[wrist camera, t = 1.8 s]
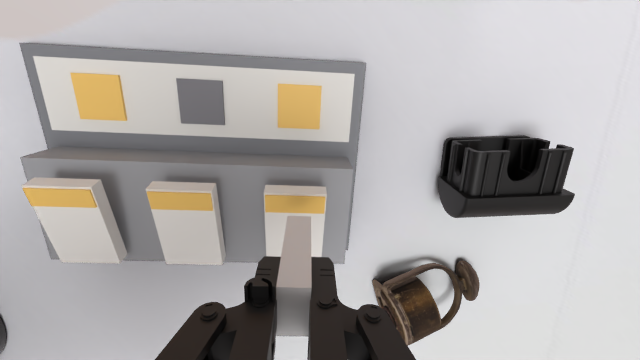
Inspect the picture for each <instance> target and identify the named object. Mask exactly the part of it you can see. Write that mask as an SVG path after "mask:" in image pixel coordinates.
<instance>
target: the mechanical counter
mask: <svg viewBox="0 0 640 360" xmlns="http://www.w3.org/2000/svg"><path fill="white" fill-rule="evenodd" d="M430 269H442V270H444V271H446V272H447V273H448V274H449V276H450V277H451V279H452V282H453V288H454V300H453V304H452V306H451V308H450V310H449V311H448V313H447V314H446V315H445V316H444V317H443V318H442V319H441V318H440V314H439V311H438V308H437V305H436V303H435V301H434V299H433V297H432V295H431V293H430V292H429V290H428V289H427V287H426V286H425V285H424V284H423V283H422V282H421V281H420V280H419V279H418V278H417V277H415V276H416V275H418V274H421V273H423V272H425V271H428V270H430ZM456 275H457V276H456ZM456 275H455V274H454V273H453V271H452V270H450V269H449V268H447V267H445V266H443V265H440V264H436V263H430V264H425V265H421V266H419V267H417V268H415V269H413V270H411V271H409V272H406V273H404V274H401V275H399V276H397V277H394V278H392V279H390V280H388V281H386V282H384V283H383V285H382V284H381V283H379V282H378V281H377V280H373V281H372V283H373V287H374V290H375V294H376V298H377V301H378V304H379V307H381V308H382V309H384V311H385V312H386V313H387V314H388V316H389V317H390V319H391V321H392V322H393V324H394V325H395V327H396V329H397V330H398V332H399V333H400V335H401V337H402V338H403V340H404V341H405V343H406V345H407V346H408V345H410V344H412V343H414V342H417V341H418V340H420V339H422V338H424V337H426V336H428V335H430V334H432V333H433V332H436V331H438V330H440V329H442V328H443V327H445V326H446V325H447V324H448V323H449V322H450V321H451V320H452V319H453V318H454V316H455V315H456V313H457V312H458V310H459V307H460V304H461V299H462V293H463V295H464V297H465V298H466V300H469V301H472V300H475V299H476V297H477V296H478V291H479V279H478V276H477V274H476V271H475V270H474V269H473V268H472V266H471V265H470V264H469V263H468V262H466V261H463V260H461V261H459V262H458V263H457V265H456Z"/></svg>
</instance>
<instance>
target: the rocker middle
mask: <svg viewBox="0 0 640 360" xmlns="http://www.w3.org/2000/svg"><path fill="white" fill-rule="evenodd" d="M146 193H147V196H148V200H149V203H150V207H151V211H152V214H153V218H154V222H155V225H156V229H157V232H158V236H159V240H160V243H161V247H162V250H163V254H164V258H165V261H166V264H187V265H223V262H224V259H225V256H226V253H225V246H224V239H223V231H222V224H221V217H220V209H219V202H218V195H217V187H216V183H195V182H164V181H152V182H151V183H150V185H149V186H148V187H147V188H146Z"/></svg>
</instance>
